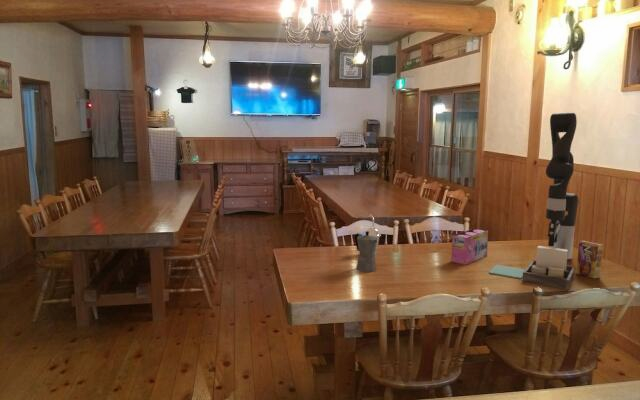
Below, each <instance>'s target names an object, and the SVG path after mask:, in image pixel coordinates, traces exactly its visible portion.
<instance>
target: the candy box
mask: <svg viewBox="0 0 640 400" xmlns="http://www.w3.org/2000/svg"><path fill="white" fill-rule="evenodd" d="M603 248H604V244H602V243H597V242H596V243H595V242H591V241H587V240H580V241H579V242H578V249H577V251H578V253H577V260H576V261H577V262H576V269H575V271H576V272H575V273H576V274H577V275H581V276H584V277H586V278H587V277H588V278H590V279H599V278H600V277H601V276H600V274H601V266H602V258H603V250H604V249H603Z"/></svg>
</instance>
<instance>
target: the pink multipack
mask: <svg viewBox="0 0 640 400" xmlns="http://www.w3.org/2000/svg"><path fill="white" fill-rule="evenodd" d="M488 240H489V230H487V229H486V231H485V230H483V229H479V228H477V227H476V228H471V229H468V230H465V231H462V232H459V233H456V234H452V243H451V259H450V260H451V261H450V262H453V263H456V264H460V265H464V266H465V265H467V264H470V263H472V262H475V261H478V260H480V259H483V258H485V257H486V258H487V257H488V247H489V246H488V244H489V243H488V242H489V241H488Z"/></svg>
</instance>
